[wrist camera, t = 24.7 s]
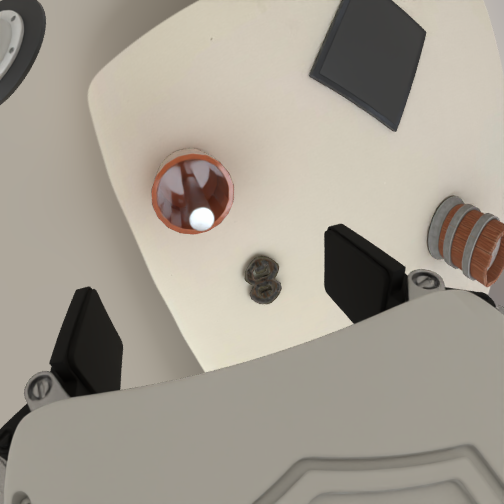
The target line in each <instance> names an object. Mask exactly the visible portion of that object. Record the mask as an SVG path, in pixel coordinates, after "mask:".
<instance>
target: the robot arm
mask: <svg viewBox="0 0 504 504" xmlns="http://www.w3.org/2000/svg"><path fill="white" fill-rule="evenodd" d="M23 35H24V23H23V20H22V18H21V16H20V15H19V14H18V13H16V12H14V11H11V10H4V11H1V12H0V80H1V79H2V77H3V76H4V75H5V74H6V72H7V71H8V70H9V68H10V67H11V65H12V63H13V62H14V60H15V58H16V56H17V54H18V52H19V49H20V46H21V43H22V40H23ZM324 247H325V272H324V287H325V290H326V293H327V294H328V295H329V296H330V297H331V298H332V300H333V301H334V302H335V303H336V304H337V305H338V306H339V307H340V309H341V310H342V311H343V312H344V313H345V314H346V315H347V316H348V318H349V319H350V320H351V321H352V322H353V323H354V324H353V325H351V326H348V327H346V328H343V329H341V330H338V331H335V332H333V333H330V334H327V335H325V336H322V337H319V338H317V339H314V340H311V341H308V342H306V343H303V344H300V345H297V346H294V347H291V348H288V349H285V350H282V351H279V352H276V353H273V354H270V355H267V356H263V357H260V358H257V359H254V360H250V361H247V362H243V363H240V364H236V365H233V366H229V367H225V368H222V369H218V370H214V371H210V372H206V373H202V374H198V375H194V376H189V377H185V378H180V379H176V380H171V381H166V382H162V383H157V384H152V385H146V386H141V387H135V388H130V389H124V390H120V384H121V368H122V355H123V344H122V341H121V339H120V337H119V335H118V333H117V331H116V329H115V328H114V326H113V324H112V322H111V320H110V318H109V316H108V314H107V312H106V310H105V308H104V306H103V304H102V302H101V299H100V297H99V295H98V293H97V291H96V290H95V289H92V288H91V287H85V288H81V289H77V290H76V291H75V294H74V296H73V299H72V301H71V304H70V306H69V308H68V311H67V314H66V316H65V319H64V321H63V324H62V327H61V330H60V333H59V335H58V338H57V341H56V344H55V347H54V350H53V353H52V356H51V360H50V365H51V366H52V367H51V371H50V372H49V371H42V372H39V373H37V374H35V375H34V376H32V378H30V379H29V381H28V382H27V384H26V387H25V389H24V396H25V399H26V401H27V404H26V405H25V406H24V407H23V408H22V409H21V410H20V411H19V412H17V413H16V414H15V415H14V416H13V417H12V418H11V419H10V420H9V421H8V422H7V423H6V424H5V425H4V426H3V427H2V428H1V429H0V504H504V307H503V306H500V305H498V307H497V308H496V306H495V303H494V301H493V300H492V299H491V298H490V297H489V296H488V295H487V294H485V293H483V292H474V291H467V290H460V289H453V288H447V287H445V285H444V281H443V279H442V278H441V277H440V276H439V275H438V274H437V273H435V272H433V271H430V270H425V269H418V270H414V271H412V272H410V273H409V275H408V276H407V275H406V274H405V268H406V267H405V266H403V265H402V264H401V263H399V262H398V261H396V260H395V259H394V258H392V257H391V256H389V255H388V254H387V253H385V252H384V251H382V250H381V249H379V248H378V247H376V246H375V245H373V244H372V243H371V242H369V241H368V240H366V239H365V238H363V237H362V236H360V235H359V234H357V233H356V232H354V231H353V230H351V229H350V228H348V227H346V226H345V225H343V224H338V225H334V226H329V227H328V229H327V231H325V233H324Z"/></svg>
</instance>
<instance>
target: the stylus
mask: <svg viewBox="0 0 504 504" xmlns="http://www.w3.org/2000/svg"><path fill="white" fill-rule="evenodd" d="M183 191H184V196H185V202H186V207H187V212H188V218H189V222H190V225H191V227H192V228H193V229H195V230H197V231H206V230H208V229H210V228H211V227H212V225H213V224H214V220H215V217H214V213H213V211H212V209H211V207H210V205H209V203H208V201H207V199H206V197H205V195H204V193H203V191H202V189H201V187H200V185H199V183H198V181H197V179H196V178H194V177H187V178H186V179H184V181H183Z"/></svg>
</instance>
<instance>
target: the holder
mask: <svg viewBox="0 0 504 504" xmlns="http://www.w3.org/2000/svg"><path fill="white" fill-rule="evenodd" d="M187 177H194V178H196V179H197V181H198V183H199V185H200V187H201V189H202V191H203V193H204V195H205V197H206V199H207V201H208V203H209V205H210V207H211V209H212V211H213V213H214V217H215V220H214V224H213V225H212V227H211V228H210V229H208V230H206V231H197V230H195V229H193V228H192V227H191V225H190V222H189V218H188V212H187V207H186V202H185V196H184V191H183V181H184V179H186V178H187ZM151 192H152V205H153V208H154V210H155V212H156V214H157V216H158V218H159V219H160V220H161V221H162V222H163V223H164V224H165V225H166V226H167V227H168V228H170V229H172V230H174V231H177V232H179V233H183V234H198V233H203V232H207V231H209V230H211V229H212V228H214V227H215V226H217V225H219V224H220V223H221V222H222V221H223V219H224V218H225V217H226V216H227V215H228V213H229V211H230V208H231V206H232V203H233V200H234V185H233V182H232V179H231V177H230V174H229V172H228V171H227V170H226V169H225V167H224V166H223V165H222V164H221V163H220V162H219V161H217V160H216V159H215V158H213V157H212V156H210V155H209V154H207V153H205V152H203V151H201V150H198V149H192V148H187V149H181V150H178V151H176V152H174V153H172V154H170V155H169V156H168V157H166V159H165V160H164V161H163V162H162V164H161V165H160V167H159V169H158V172H157V175H156V178H155V181H154V184H153V187H152V191H151Z"/></svg>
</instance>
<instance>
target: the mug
mask: <svg viewBox="0 0 504 504" xmlns="http://www.w3.org/2000/svg"><path fill="white" fill-rule="evenodd" d="M428 245H429V250H430V253H431V255H432V256H433V257H434V258H435V259H444V260H445V262H446V263H447V264H448V265H450V266H451V267H453V268H455V269H458V268H459V269H461V270H462V271H463V274H464V275H465V276H466V277H468V278H469V279H471V280H473V281H474V280H477V281H479V282H480V283H481V284H483V285H484V286H486V287H489V286H491V285H492V284H493V283H495V282H496V280H497V279H498V278H499V276H500V274H501V273H502V271H503V269H504V224H503V223H502V222H500V220H499V218H498V217H496V216H494V215H492V214H490V213H486V214H483V213H481V211H480V209H478V208H477V207H475V206H473V205H470V204H466V205H465V204H464V202H463V201H462V200H461V199H460V198H459V197H457V196H452V197H450V198H448V199H447V200H445V201H444V202H443V203H442V204H441V205H440V206H439V208H438V209H437V211H436V213H435V215H434V216H433V219H432V222H431V225H430V228H429V234H428Z"/></svg>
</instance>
